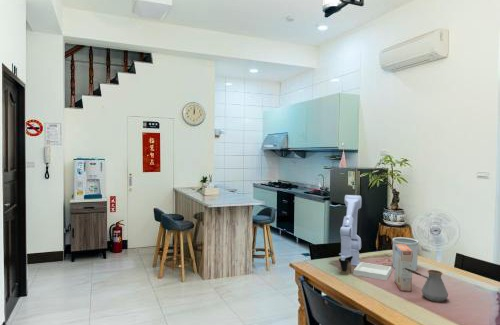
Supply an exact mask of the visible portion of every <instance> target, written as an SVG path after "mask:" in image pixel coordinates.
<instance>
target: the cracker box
mask: <svg viewBox="0 0 500 325" xmlns="http://www.w3.org/2000/svg"><path fill="white" fill-rule="evenodd" d="M412 257H413V251H412V250H411V249H410V248H409V247H408V246H407V245H403V244H396V245H395V268H394V283H395V284H396V286H397V288H398V290H399V291H402V292H403V291H404V292H412V290H413V287H412V286H413V284H412V283H413V273H412V272H410V271H408V270H406V269H405V268H407V269H410V270H412ZM403 269H404V270H403ZM405 270H406V271H405ZM403 271H404V272H403Z"/></svg>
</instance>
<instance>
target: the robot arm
mask: <svg viewBox="0 0 500 325" xmlns="http://www.w3.org/2000/svg"><path fill="white" fill-rule="evenodd" d="M362 199H363V198H362V196H361V195H359V194H358V195H356V194H345V195H344V199H343V200H344V204H345V207H346V215H344V216H343V220H342V224H341V225H342V226H340V230H339V233H340V234H339V235H340V252H339V253H338V255H339V256H340V258H339V259H338V261H339V263H340V264H341V267H342V271H344V272H346V270H347V265H348V262H351V266H356V267H357V266H358V264H359V263H360V262H361V261H360V252H359V251H360V250H361V248H362V239H361V237H360V236H359V235H358V234H357V233H358V211H359V209H361V208H362V203H363V202H362Z"/></svg>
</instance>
